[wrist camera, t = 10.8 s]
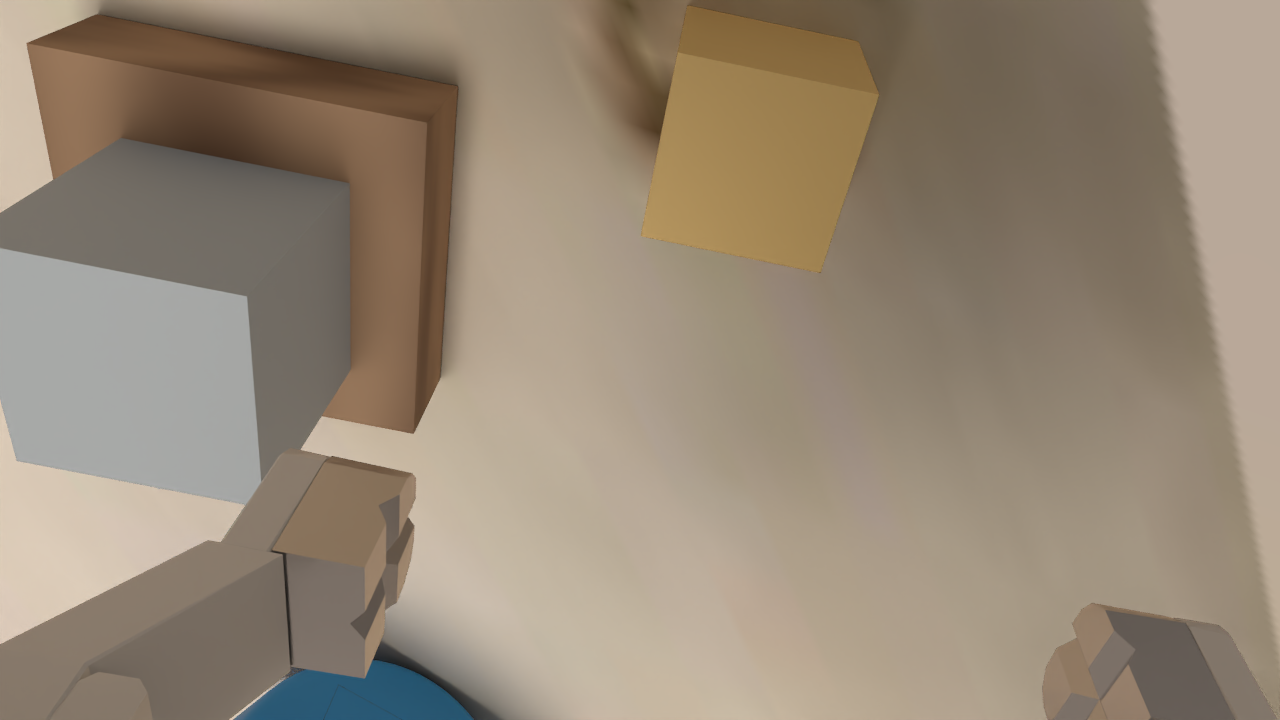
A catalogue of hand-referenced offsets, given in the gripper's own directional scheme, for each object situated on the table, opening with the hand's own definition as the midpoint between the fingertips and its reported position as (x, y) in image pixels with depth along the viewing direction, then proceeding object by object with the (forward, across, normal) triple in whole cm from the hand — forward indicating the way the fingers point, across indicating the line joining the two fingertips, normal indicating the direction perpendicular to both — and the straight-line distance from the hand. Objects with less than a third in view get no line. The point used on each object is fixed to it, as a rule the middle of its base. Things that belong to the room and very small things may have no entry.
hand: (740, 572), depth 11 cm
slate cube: (+14, -13, -6) cm, 20 cm away
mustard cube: (+17, 0, 0) cm, 17 cm away
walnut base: (+17, -13, -6) cm, 22 cm away
